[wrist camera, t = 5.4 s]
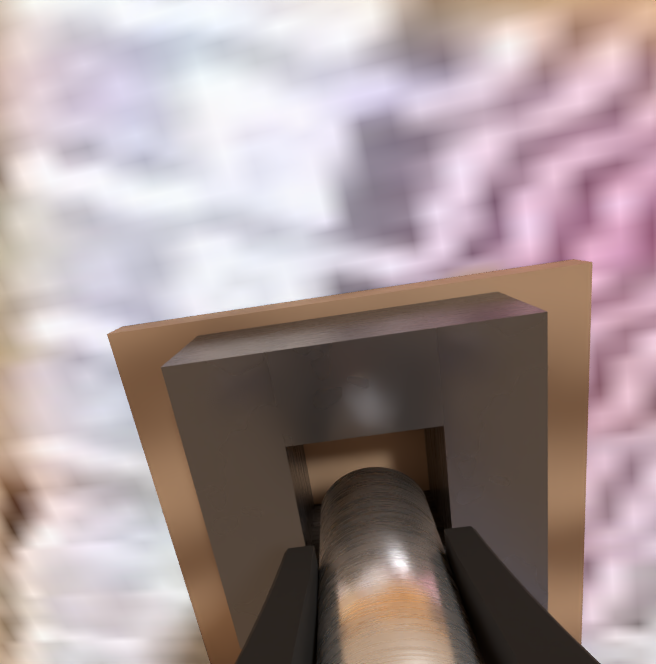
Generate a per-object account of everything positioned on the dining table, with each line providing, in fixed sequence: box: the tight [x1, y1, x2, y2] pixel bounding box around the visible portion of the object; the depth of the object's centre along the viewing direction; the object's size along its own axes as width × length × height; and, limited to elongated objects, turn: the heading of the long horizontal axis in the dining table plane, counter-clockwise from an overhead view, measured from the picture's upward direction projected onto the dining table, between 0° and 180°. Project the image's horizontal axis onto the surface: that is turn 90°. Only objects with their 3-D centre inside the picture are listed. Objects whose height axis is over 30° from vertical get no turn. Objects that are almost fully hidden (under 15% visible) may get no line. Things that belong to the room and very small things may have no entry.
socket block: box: [161, 292, 548, 649], centre depth 13 cm, size 10×10×3 cm
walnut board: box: [107, 259, 592, 664], centre depth 16 cm, size 20×16×1 cm
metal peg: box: [316, 467, 484, 664], centre depth 7 cm, size 3×3×7 cm
